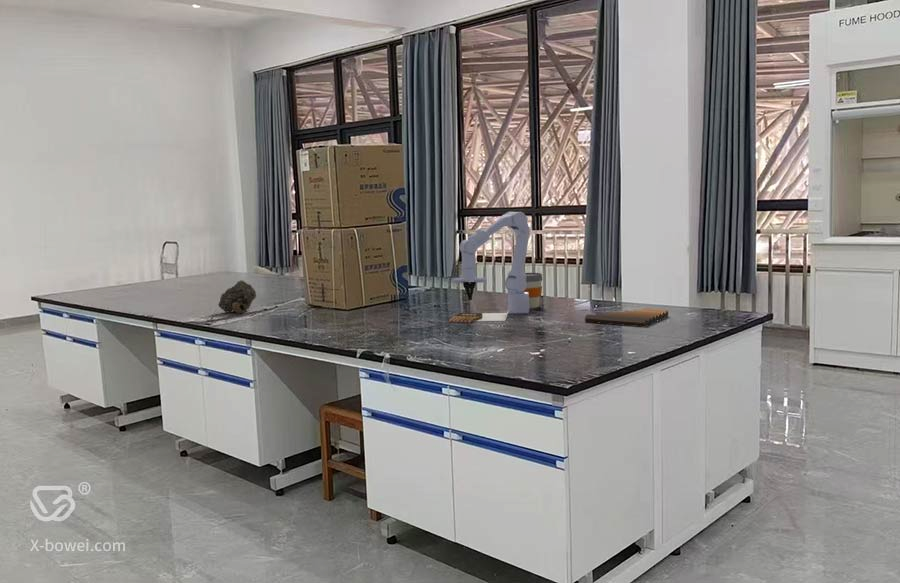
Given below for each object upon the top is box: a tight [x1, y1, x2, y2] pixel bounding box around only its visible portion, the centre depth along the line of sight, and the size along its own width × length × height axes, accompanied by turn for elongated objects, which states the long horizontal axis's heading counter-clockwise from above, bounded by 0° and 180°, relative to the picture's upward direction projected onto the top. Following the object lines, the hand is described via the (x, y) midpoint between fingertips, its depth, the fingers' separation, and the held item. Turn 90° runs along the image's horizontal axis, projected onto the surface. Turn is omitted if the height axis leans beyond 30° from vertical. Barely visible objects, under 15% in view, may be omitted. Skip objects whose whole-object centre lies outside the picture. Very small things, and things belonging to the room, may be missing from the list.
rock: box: [217, 280, 257, 315], centre depth 360 cm, size 18×14×15 cm
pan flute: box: [584, 308, 669, 327], centre depth 298 cm, size 25×3×25 cm
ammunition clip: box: [448, 312, 483, 323], centre depth 310 cm, size 11×2×12 cm
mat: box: [474, 312, 509, 323], centre depth 315 cm, size 12×18×1 cm
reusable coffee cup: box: [524, 272, 543, 309], centre depth 339 cm, size 13×13×15 cm
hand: (470, 299), depth 316 cm, fingers closed
